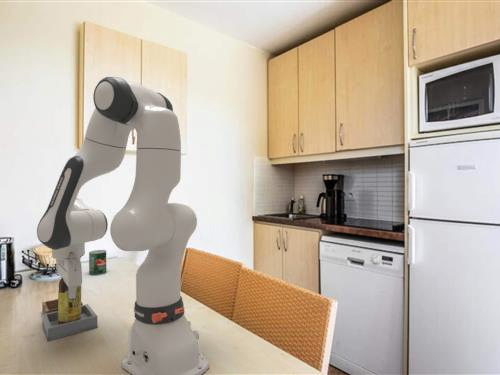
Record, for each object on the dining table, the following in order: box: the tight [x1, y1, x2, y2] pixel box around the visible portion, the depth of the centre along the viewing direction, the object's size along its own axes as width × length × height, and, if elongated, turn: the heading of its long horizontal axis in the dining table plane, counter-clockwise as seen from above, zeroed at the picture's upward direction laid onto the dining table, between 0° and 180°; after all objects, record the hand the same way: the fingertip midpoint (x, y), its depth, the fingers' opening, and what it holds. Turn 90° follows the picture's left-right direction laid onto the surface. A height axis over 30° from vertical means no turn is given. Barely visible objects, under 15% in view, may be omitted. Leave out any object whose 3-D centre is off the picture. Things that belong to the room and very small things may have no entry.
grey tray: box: [41, 303, 99, 342], centre depth 97 cm, size 13×13×4 cm
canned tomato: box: [88, 249, 107, 277], centre depth 156 cm, size 8×8×11 cm
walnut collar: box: [41, 298, 84, 314], centre depth 107 cm, size 11×11×4 cm
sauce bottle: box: [57, 264, 82, 325], centre depth 97 cm, size 7×6×20 cm
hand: (69, 294), depth 97 cm, fingers open, 6 cm apart
